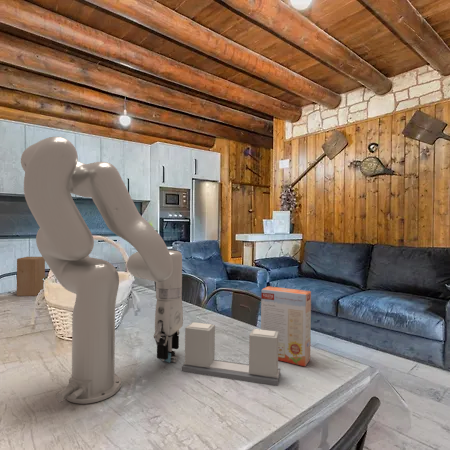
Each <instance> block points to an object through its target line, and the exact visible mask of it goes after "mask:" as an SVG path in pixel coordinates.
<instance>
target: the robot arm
mask: <svg viewBox="0 0 450 450" xmlns="http://www.w3.org/2000/svg"><path fill="white" fill-rule="evenodd" d="M78 160H79V157H78V151H77V149H76V147H75V145H74V144H73V143H72V142H71V141H70V140H69V139H67V138H64V137H60V136H50V137H45V138H44V139H40V140H39V141H37V142H36V143H33V144H32V145H29V146H28V147H26V148H25V149H24V151H23V152H22V153H21V157H20V164H21V168H22V170H23V171H24V176H23V177H24V178H23V194H24V199H25V201H26V204H27V207H28V208H29V211H30V212H31V214H32V216H33V218H34V219H35V221H36V223H37V225H38V227H39V229H38V230H37V233H36V238H35V243H36V247H37V249H38V251H39V253H40V255H41V257H43V258H44V260H45V264H46V265H47V266H48V267H49V269H50V271H51V272H52V273H53V275H54V277H55V279H56V280H57V281H58V283H59V284H60V285H61V286H62V287H63V288H64V289H65V290H67V291H68V292H70V293H73V294H75V295H76V297H75V302H74V304H73V305H74V306H73V309H72V319H71V320H72V321H71V328H72V329H71V335H72V336H71V339H72V340H71V341H72V342H71V377H70V378H68V384H66V386H65V387H64V388H63V389H62V390H60V391H58V393H56V395H55V398H56V401H58V402H60V403H61V402H63V401H64V400H66V401H69V402H70V403H74V404H84V405H86V404H87V405H88V404H94V403H98V402H101V401H105V400H106V399H108V398H111V397H112V396H114V395H115V394H117V393H118V392H119V390H120V389H121V387H122V380H121V378H120V376H118V375H116V374H115V369H116V367H115V361H116V360H115V356H116V353H115V349H116V346H115V345H116V303H117V297H118V291H119V287H120V275H119V273H118V270H117V268H116V267H115V266H114V265H113V264H112V263H111V262H109V261H107V260H104V259H103V258H101V259H100V258H95V257H90V254H91V253H92V251H93V249H94V246H95V245H94V244H95V241H94V236H93V234H92V232H91V230H90V228H89V227H88V225H87V223H86V221H85V219H84V218H83V216H82V214H81V212H80V211H79V208H78V207H77V204H76V203H75V201H74V199H73V196H72V195H76V196H79V197H83V198H91V199H92V202H93V203H94V204H95V206H96V208H97V209H98V212H99V214H100V216H101V217H102V219H103V222H104V223H105V225H106V226H107V228H108V229H109V230H110V231H111V232H112V233H114V235H116V236H117V237H119V238H121V239H123V240H125V241H126V242H127V243H128V244H130V245H131V246H133V248H134V249H135V250H136V252H133V253H132V254H131V255H130V256H129V257H128V259H127V262H126V269H127V270H128V273H129V274H130V275H132V276H133V277H136V278H139V279H143V280H147V281H152V282H155V299H156V303H155V304H156V305H155V314H154V333H153V338H154V341H155V345H156V358H157V359H159V360H161V359H165V360H166V359H168V345H167V340H168V336H171V335H172V334H174V333H175V335H174V336H173V337H172V350H179V346H180V344H179V343H180V336H179V335H180V329H181V328H182V327H183V325H184V311H183V299H182V298H183V295H182V293H183V255H182V253H181V251H179V250H171V249H170V250H169V249H168V247H167V244H166V243H165V241H164V239H163V238H162V236H161V234H159V232H158V231H157V230H156V229H155V228H154V227H153V226H152V225H151V224H150V223H149V222H148V221H147V220H146V219H145V218H144V217H143V216H142V215H141V214H140V212H139V211H138V208H137V206H136V204H135V202H134V200H133V198H132V196H131V195H130V193H129V190H128V189H127V186H126V184H125V182H124V181H123V178H122V176H121V175H120V172H119V171H118V169H117V168H116V167H115V166H114V165H113V164H112V163H110V162H107V161H95V162H91V163H83V162H81V161H78ZM162 331H163V332H165V334H163V333H161V332H162ZM161 336H165V338H164V340H163V338H162V337H161Z"/></svg>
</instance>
